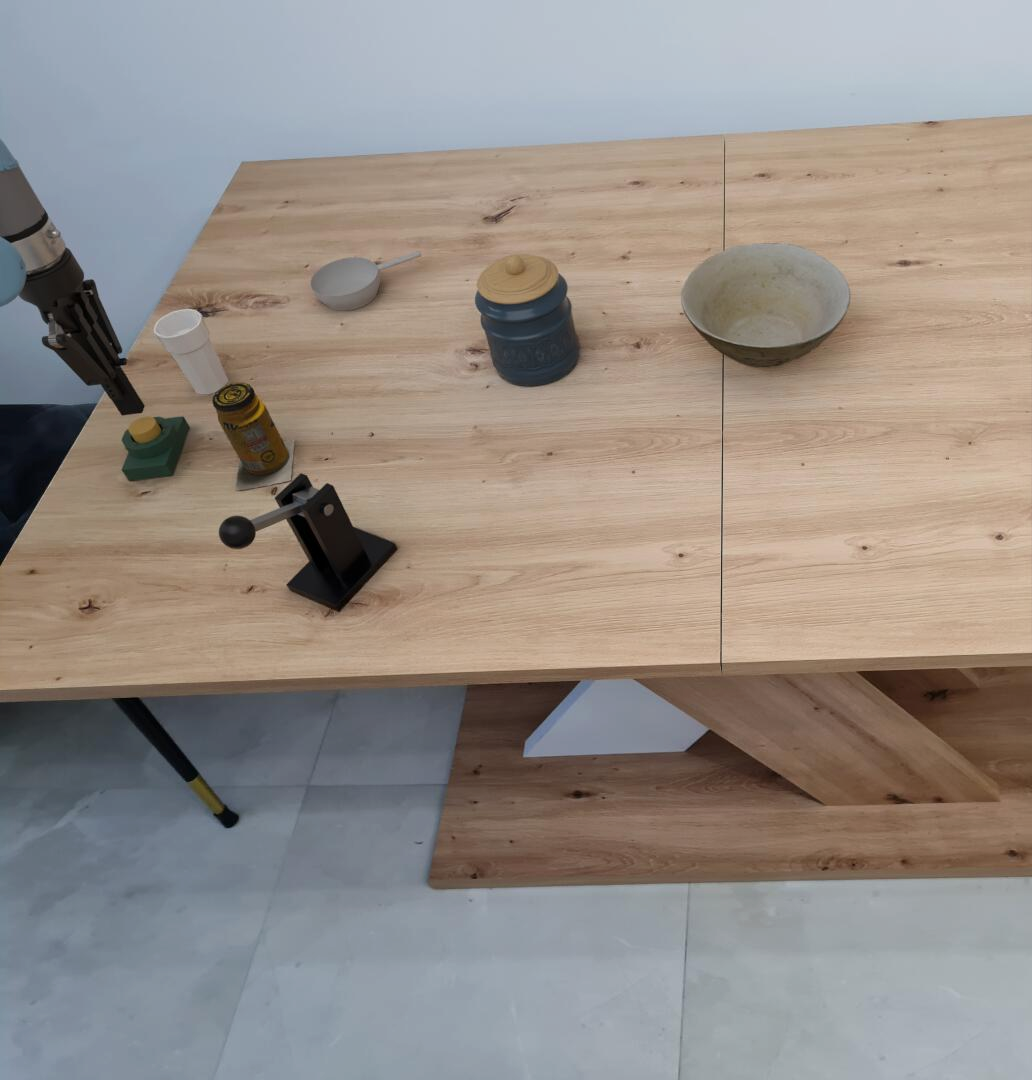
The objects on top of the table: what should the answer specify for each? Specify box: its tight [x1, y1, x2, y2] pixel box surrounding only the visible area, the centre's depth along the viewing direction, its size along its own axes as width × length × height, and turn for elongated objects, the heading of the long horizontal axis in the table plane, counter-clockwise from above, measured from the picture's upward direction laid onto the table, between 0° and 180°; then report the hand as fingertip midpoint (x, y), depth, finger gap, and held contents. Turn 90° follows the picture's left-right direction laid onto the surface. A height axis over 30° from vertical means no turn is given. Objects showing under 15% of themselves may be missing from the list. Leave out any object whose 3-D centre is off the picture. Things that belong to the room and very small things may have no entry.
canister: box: [474, 253, 581, 387], centre depth 148 cm, size 13×13×18 cm
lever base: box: [274, 472, 398, 613], centre depth 124 cm, size 11×8×14 cm
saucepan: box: [309, 250, 423, 311], centre depth 169 cm, size 11×18×4 cm, turn 114°
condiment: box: [212, 382, 295, 491], centre depth 139 cm, size 7×8×12 cm
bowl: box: [680, 242, 851, 369], centre depth 149 cm, size 24×24×10 cm
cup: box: [153, 308, 230, 395], centre depth 152 cm, size 7×7×11 cm
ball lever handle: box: [218, 486, 320, 550], centre depth 116 cm, size 13×4×4 cm, turn 152°
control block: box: [121, 415, 191, 482], centre depth 145 cm, size 10×6×4 cm, turn 6°
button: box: [128, 416, 161, 443], centre depth 143 cm, size 4×4×2 cm
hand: (133, 410), depth 141 cm, fingers closed
